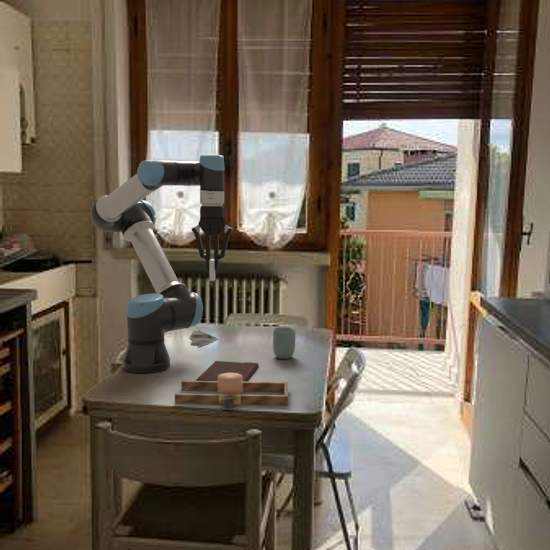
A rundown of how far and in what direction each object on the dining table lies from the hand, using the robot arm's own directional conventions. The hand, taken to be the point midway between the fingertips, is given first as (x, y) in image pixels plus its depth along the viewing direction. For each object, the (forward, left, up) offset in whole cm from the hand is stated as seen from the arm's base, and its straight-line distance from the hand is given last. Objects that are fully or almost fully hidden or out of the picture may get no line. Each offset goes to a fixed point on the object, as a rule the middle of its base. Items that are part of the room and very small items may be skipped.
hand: (212, 280), depth 191 cm
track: (+9, -26, -29) cm, 40 cm away
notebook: (+5, -4, -30) cm, 31 cm away
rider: (+8, -24, -30) cm, 39 cm away
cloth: (-9, +39, -30) cm, 50 cm away
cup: (+23, +15, -30) cm, 41 cm away
